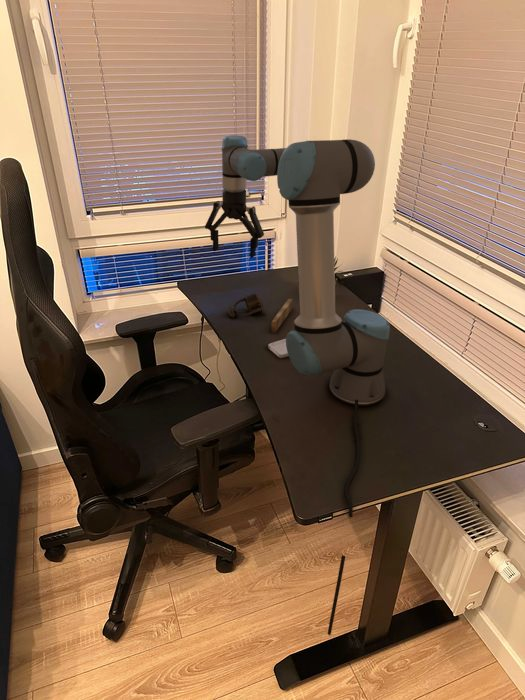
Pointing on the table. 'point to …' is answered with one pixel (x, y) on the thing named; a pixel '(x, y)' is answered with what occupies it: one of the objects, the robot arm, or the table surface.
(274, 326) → the rail
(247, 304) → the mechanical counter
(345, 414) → the table surface
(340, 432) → the table surface
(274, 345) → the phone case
